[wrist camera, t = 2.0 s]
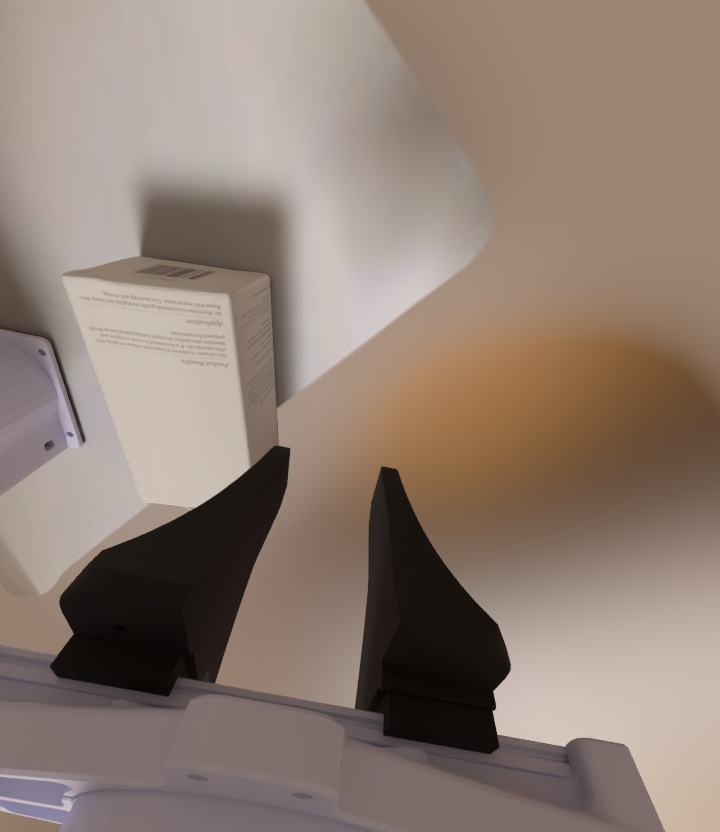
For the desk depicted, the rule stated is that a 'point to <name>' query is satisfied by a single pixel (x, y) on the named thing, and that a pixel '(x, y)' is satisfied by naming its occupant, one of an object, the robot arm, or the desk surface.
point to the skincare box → (181, 370)
